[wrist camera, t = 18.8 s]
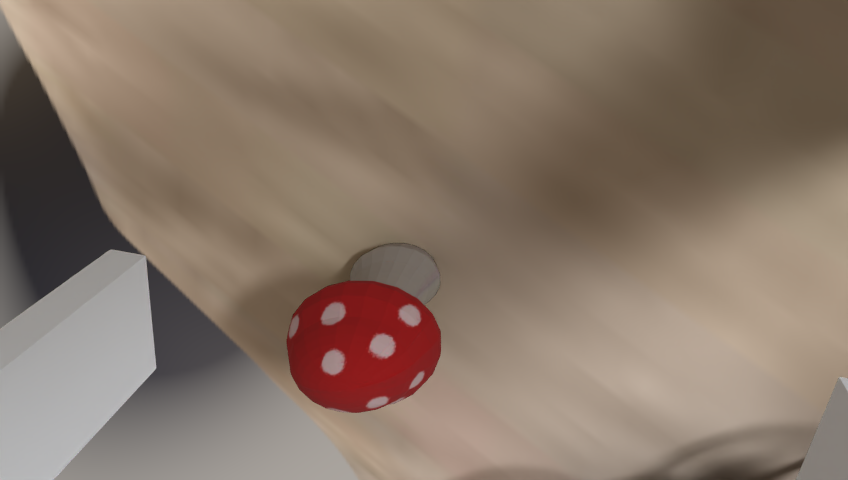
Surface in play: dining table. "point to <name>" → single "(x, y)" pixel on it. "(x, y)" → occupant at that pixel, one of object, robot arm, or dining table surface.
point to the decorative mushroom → (368, 332)
